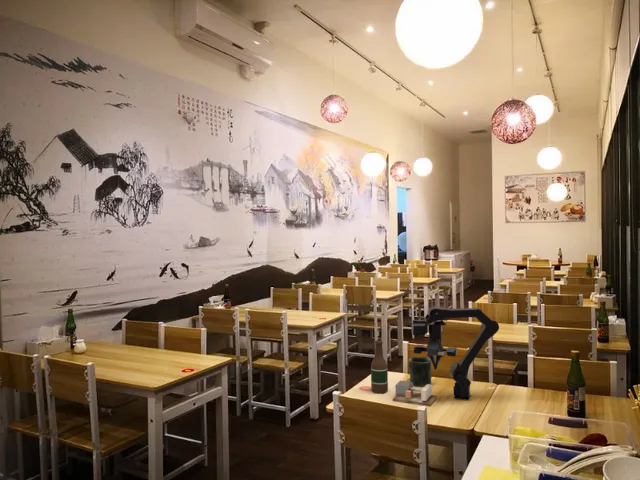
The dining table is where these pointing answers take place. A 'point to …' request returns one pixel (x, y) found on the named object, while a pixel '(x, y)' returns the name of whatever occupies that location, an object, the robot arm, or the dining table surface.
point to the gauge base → (416, 399)
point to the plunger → (423, 391)
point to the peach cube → (408, 394)
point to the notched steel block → (403, 388)
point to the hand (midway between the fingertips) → (435, 369)
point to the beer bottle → (379, 371)
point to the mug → (420, 371)
